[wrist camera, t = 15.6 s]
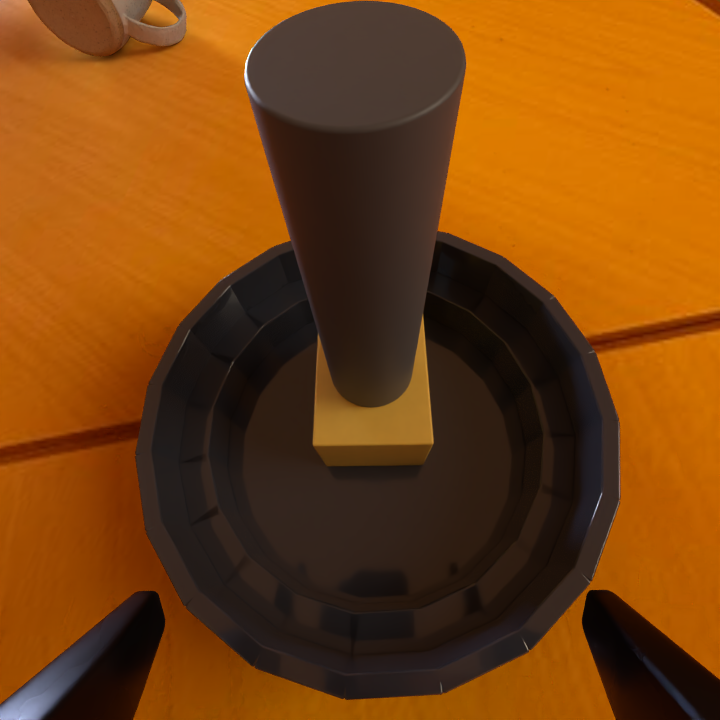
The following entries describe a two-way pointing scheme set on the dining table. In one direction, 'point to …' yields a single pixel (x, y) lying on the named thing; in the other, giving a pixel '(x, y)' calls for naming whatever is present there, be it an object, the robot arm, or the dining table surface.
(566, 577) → the bowl
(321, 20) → the peg on base
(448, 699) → the dining table surface
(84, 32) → the ceramic mug
